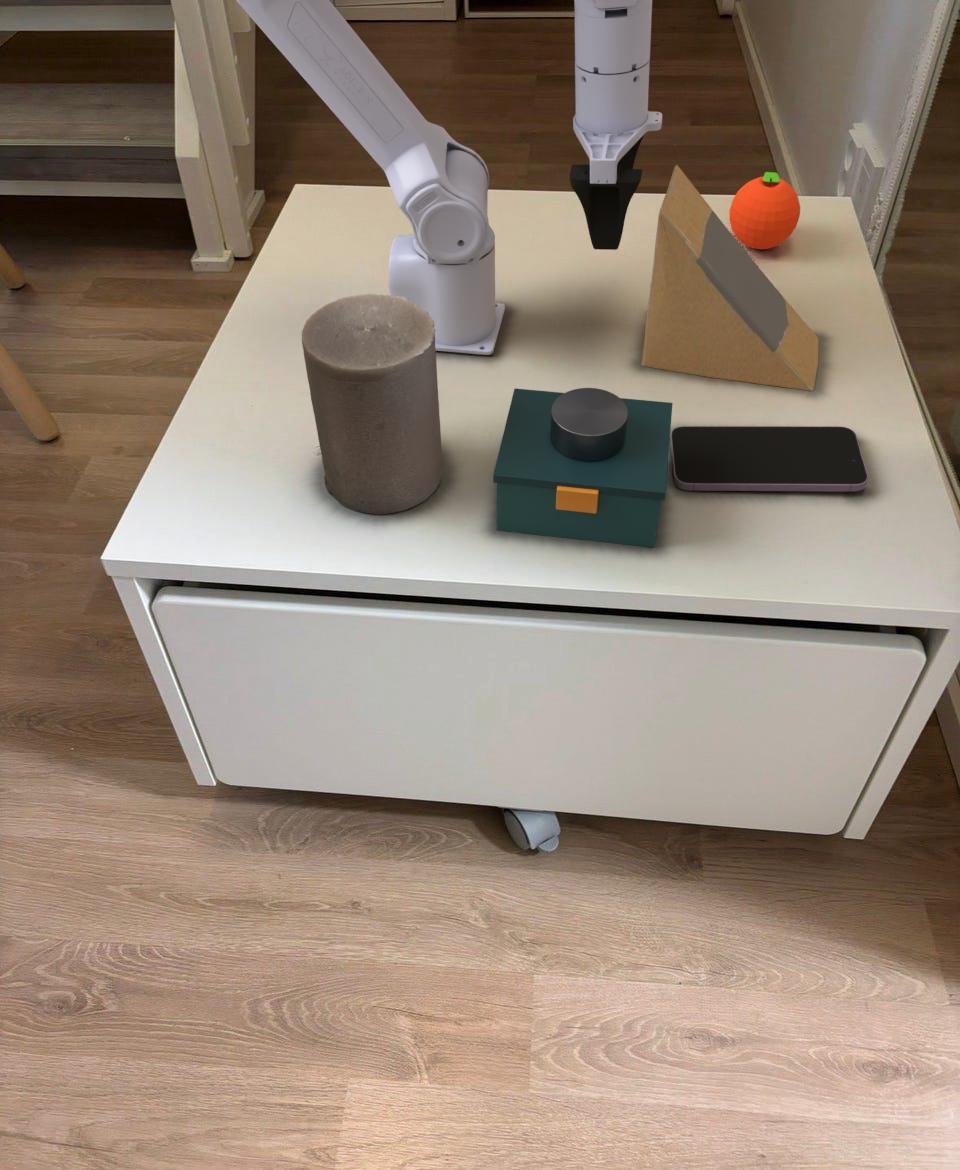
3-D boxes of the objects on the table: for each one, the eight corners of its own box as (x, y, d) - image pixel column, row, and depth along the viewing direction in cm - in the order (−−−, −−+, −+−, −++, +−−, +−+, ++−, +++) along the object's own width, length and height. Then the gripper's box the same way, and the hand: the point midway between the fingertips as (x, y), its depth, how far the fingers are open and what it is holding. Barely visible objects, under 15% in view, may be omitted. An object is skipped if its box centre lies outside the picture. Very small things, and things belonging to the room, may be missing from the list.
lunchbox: (492, 535, 78) (492, 478, 74) (514, 441, 86) (515, 385, 81) (656, 553, 77) (665, 496, 72) (664, 456, 84) (672, 399, 80)
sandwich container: (814, 393, 89) (858, 234, 78) (640, 367, 92) (658, 210, 81) (820, 337, 95) (862, 181, 84) (655, 315, 98) (674, 161, 86)
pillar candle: (304, 499, 81) (272, 339, 70) (356, 425, 87) (334, 267, 76) (417, 527, 79) (402, 366, 68) (462, 449, 85) (455, 289, 74)
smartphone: (669, 425, 85) (854, 425, 84) (668, 435, 86) (851, 436, 85) (675, 484, 81) (871, 485, 79) (673, 494, 81) (867, 496, 80)
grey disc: (545, 458, 75) (546, 431, 73) (555, 410, 79) (556, 384, 77) (622, 465, 75) (625, 439, 73) (627, 417, 78) (630, 391, 76)
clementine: (726, 220, 109) (737, 154, 104) (792, 225, 108) (807, 160, 103) (722, 259, 104) (734, 192, 99) (792, 265, 103) (807, 198, 98)
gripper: (659, 100, 73) (651, 270, 83) (669, 22, 83) (661, 183, 93) (561, 100, 74) (564, 268, 84) (582, 24, 84) (583, 183, 94)
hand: (609, 224), depth 89 cm, fingers open, 7 cm apart
